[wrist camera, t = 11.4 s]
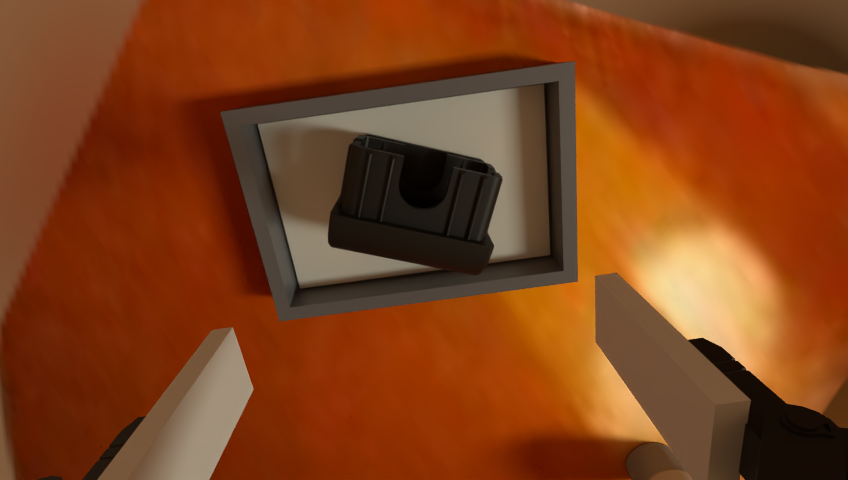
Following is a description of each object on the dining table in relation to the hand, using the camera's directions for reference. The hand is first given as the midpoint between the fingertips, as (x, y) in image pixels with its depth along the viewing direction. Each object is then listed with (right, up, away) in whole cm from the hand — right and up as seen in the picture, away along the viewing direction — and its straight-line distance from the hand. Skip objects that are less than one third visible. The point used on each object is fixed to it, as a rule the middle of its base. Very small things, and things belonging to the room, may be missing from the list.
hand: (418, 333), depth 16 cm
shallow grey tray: (-1, +7, +17) cm, 19 cm away
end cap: (0, +7, +17) cm, 18 cm away
